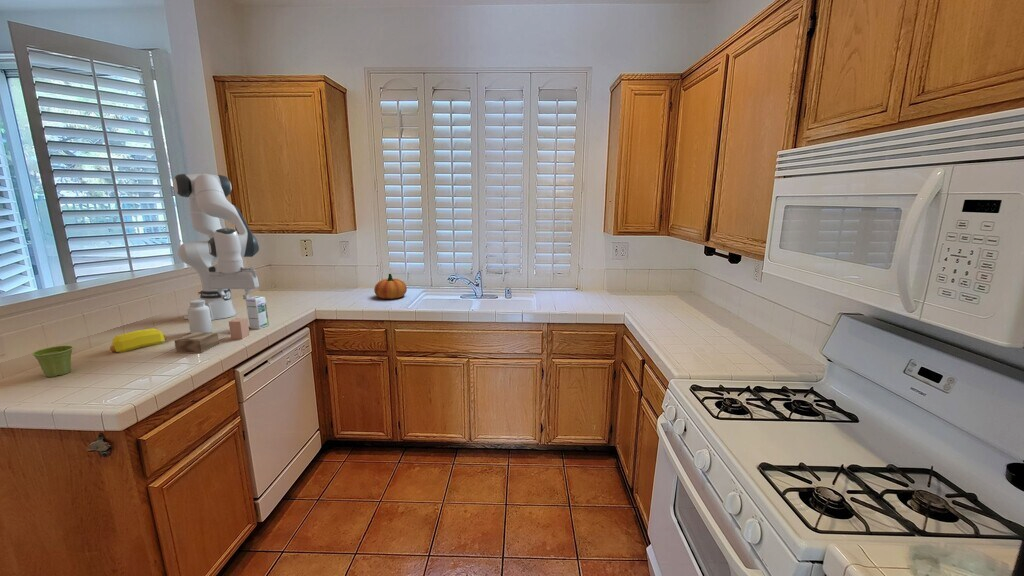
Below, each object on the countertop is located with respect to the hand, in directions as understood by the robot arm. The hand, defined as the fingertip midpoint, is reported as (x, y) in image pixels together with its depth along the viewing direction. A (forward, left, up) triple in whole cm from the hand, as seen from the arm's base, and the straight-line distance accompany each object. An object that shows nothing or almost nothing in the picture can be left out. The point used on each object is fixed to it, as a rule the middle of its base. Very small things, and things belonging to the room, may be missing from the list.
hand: (235, 298), depth 177 cm
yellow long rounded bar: (-33, -13, -18) cm, 40 cm away
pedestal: (-8, -14, -17) cm, 24 cm away
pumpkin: (+43, +79, -18) cm, 92 cm away
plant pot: (-37, -40, -18) cm, 57 cm away
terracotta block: (0, 0, -18) cm, 18 cm away
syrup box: (-1, +15, -18) cm, 23 cm away
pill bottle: (-21, +5, -18) cm, 28 cm away
